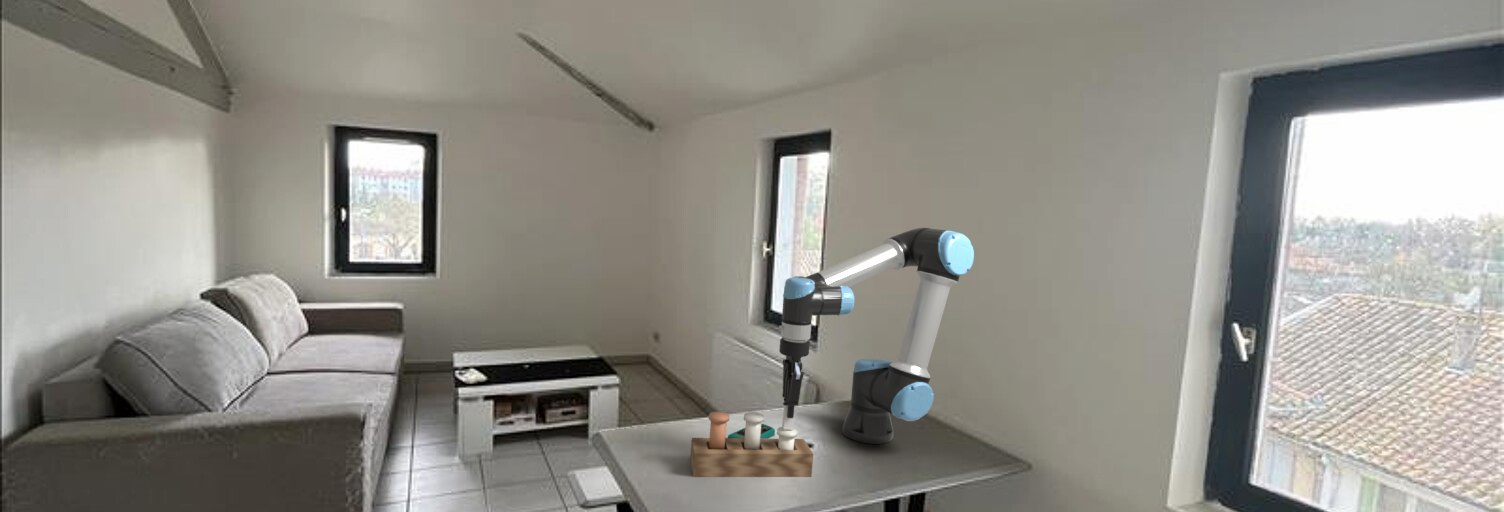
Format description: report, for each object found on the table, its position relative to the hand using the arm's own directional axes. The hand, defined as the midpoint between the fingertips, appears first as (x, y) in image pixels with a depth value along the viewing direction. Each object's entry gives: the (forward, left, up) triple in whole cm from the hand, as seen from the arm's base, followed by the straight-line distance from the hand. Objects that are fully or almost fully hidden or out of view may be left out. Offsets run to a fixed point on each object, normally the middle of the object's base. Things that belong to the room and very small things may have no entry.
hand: (788, 428), depth 175 cm
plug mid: (+9, 0, -6) cm, 11 cm away
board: (+9, 0, -11) cm, 14 cm away
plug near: (0, 0, -10) cm, 10 cm away
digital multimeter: (+5, -20, -11) cm, 24 cm away
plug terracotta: (+18, 0, -6) cm, 19 cm away
